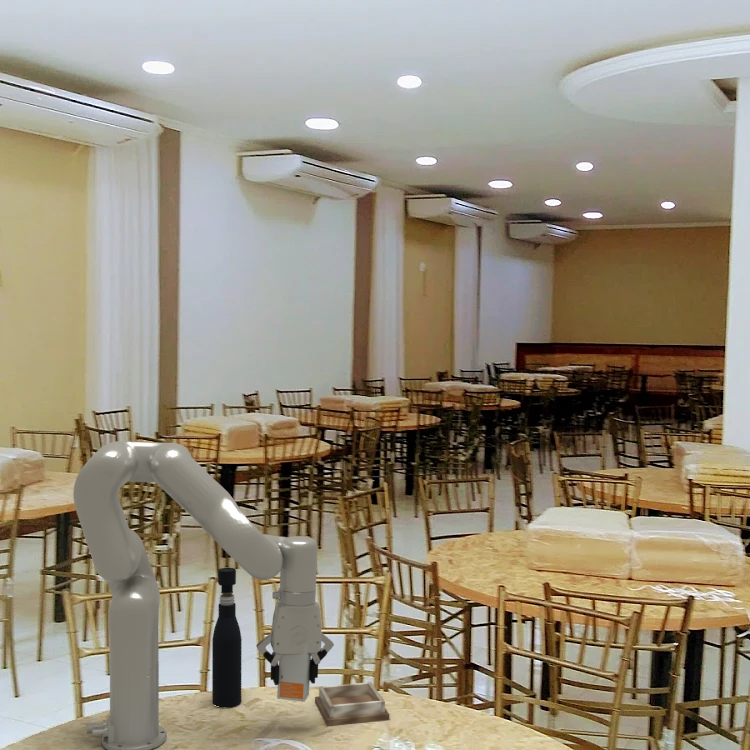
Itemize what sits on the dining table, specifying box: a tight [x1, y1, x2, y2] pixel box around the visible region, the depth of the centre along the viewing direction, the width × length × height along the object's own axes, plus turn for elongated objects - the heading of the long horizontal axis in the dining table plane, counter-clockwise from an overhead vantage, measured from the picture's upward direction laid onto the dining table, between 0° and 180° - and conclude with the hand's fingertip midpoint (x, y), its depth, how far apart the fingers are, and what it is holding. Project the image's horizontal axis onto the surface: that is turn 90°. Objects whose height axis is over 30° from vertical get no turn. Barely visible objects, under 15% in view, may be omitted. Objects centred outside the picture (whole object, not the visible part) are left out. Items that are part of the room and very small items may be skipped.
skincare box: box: [276, 645, 312, 703], centre depth 194 cm, size 6×4×12 cm
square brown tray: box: [314, 681, 390, 727], centre depth 204 cm, size 14×14×4 cm
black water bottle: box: [211, 567, 243, 708], centre depth 208 cm, size 6×6×30 cm
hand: (293, 681), depth 194 cm, fingers closed on skincare box, 7 cm apart
